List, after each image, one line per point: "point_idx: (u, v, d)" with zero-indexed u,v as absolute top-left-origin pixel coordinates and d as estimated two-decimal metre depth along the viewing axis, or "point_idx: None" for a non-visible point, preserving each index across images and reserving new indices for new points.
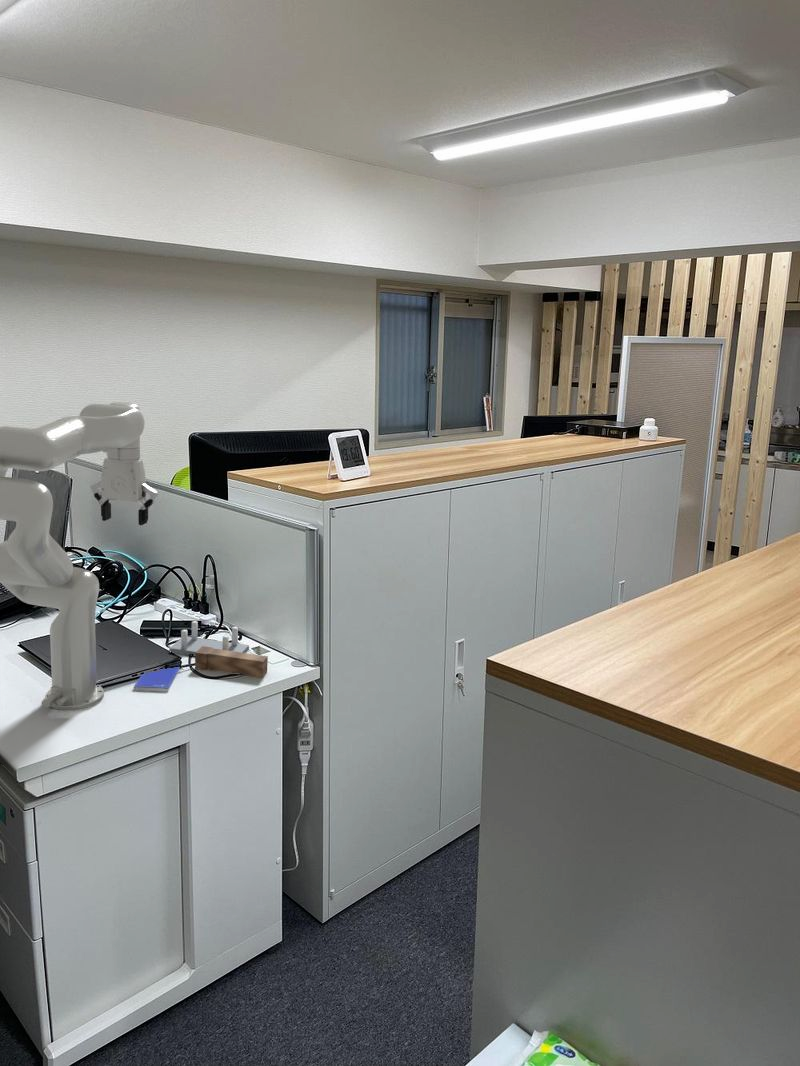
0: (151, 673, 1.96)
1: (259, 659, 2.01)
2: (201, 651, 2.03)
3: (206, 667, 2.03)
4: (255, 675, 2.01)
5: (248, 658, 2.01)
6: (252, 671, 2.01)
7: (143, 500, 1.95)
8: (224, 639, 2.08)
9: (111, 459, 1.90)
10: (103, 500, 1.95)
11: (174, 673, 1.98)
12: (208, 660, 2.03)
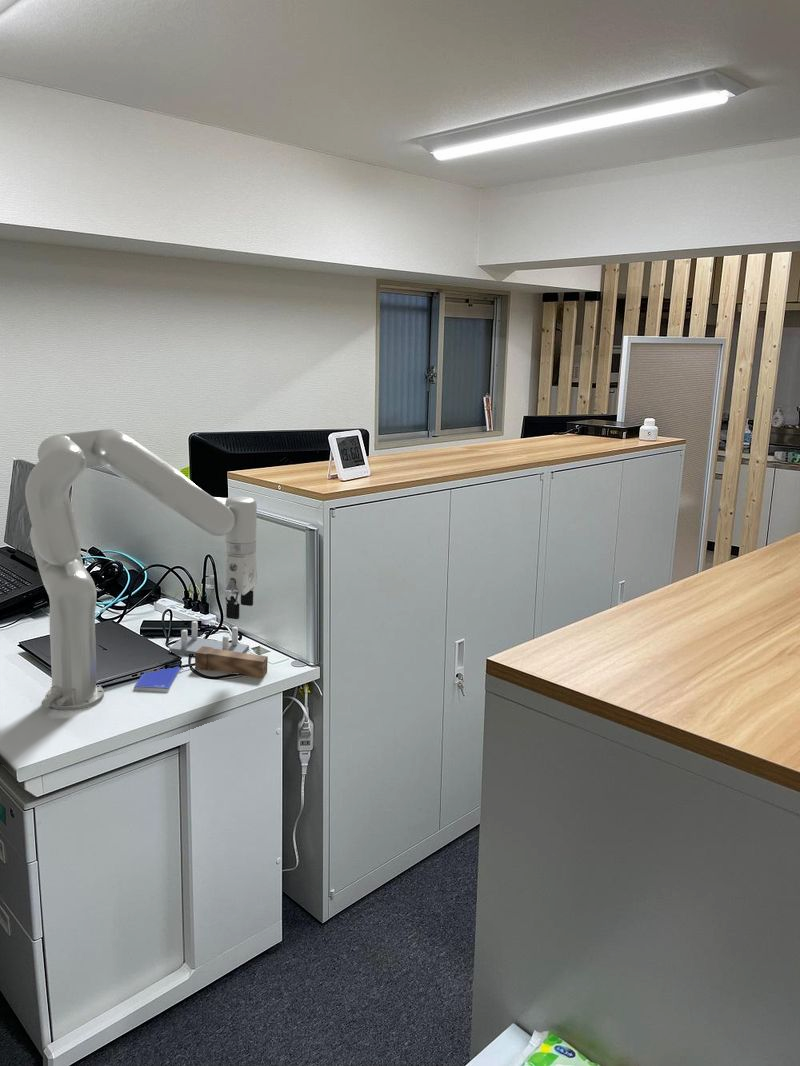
0: (151, 673, 1.96)
1: (259, 659, 2.01)
2: (201, 651, 2.03)
3: (206, 667, 2.03)
4: (255, 675, 2.01)
5: (248, 658, 2.01)
6: (252, 671, 2.01)
7: None
8: (224, 639, 2.08)
9: (252, 553, 1.94)
10: (238, 599, 1.94)
11: (174, 673, 1.98)
12: (208, 660, 2.03)
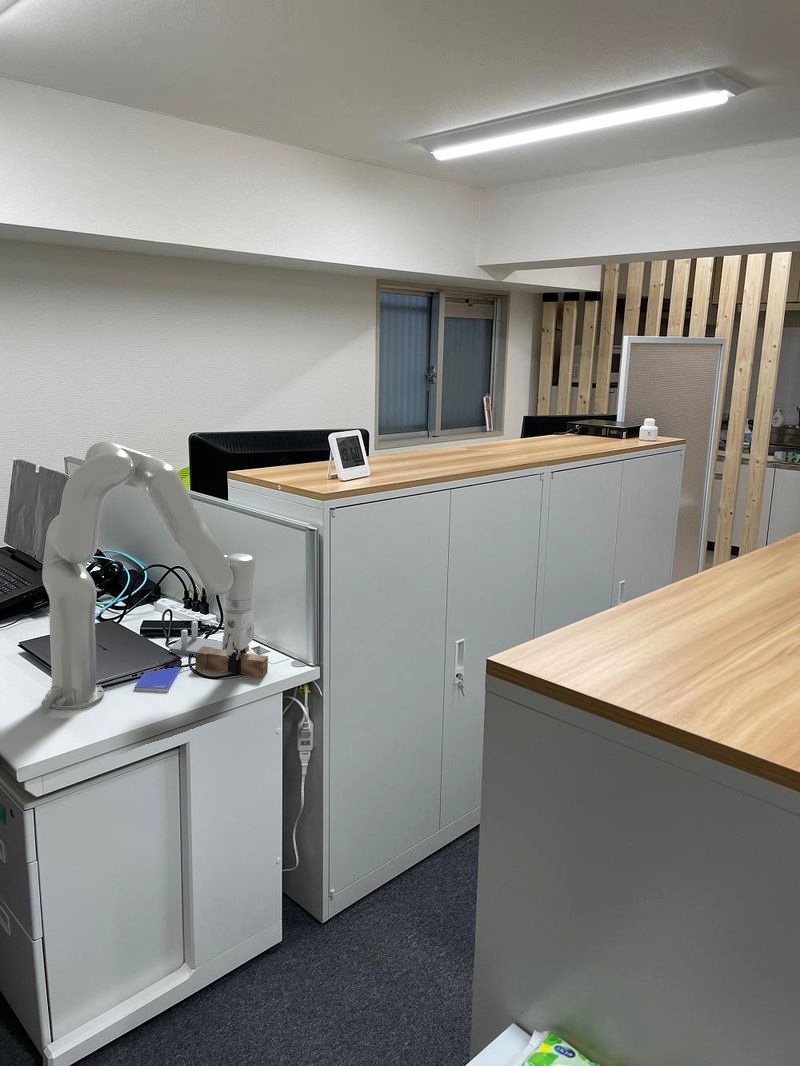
0: (152, 673, 1.96)
1: (259, 659, 2.01)
2: (201, 651, 2.03)
3: (206, 667, 2.03)
4: (255, 675, 2.01)
5: (248, 658, 2.01)
6: (253, 671, 2.01)
7: None
8: None
9: (250, 609, 1.98)
10: (239, 654, 2.00)
11: (175, 673, 1.97)
12: (208, 660, 2.03)
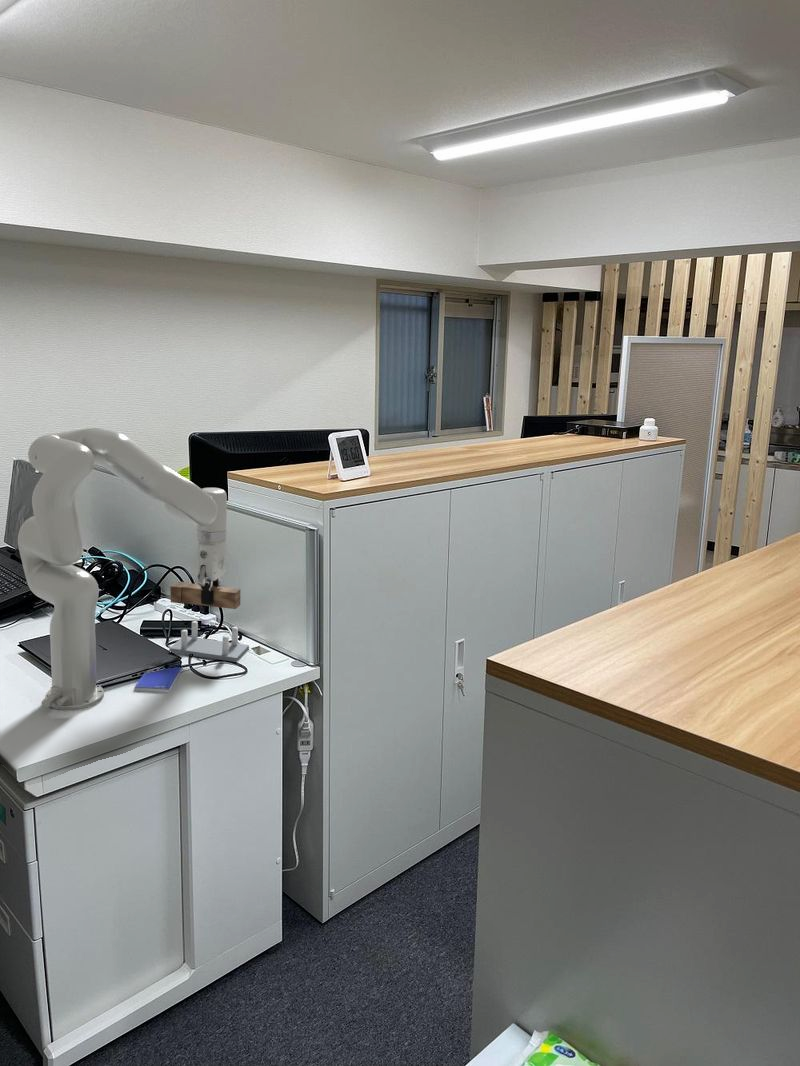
0: (152, 673, 1.96)
1: (232, 591, 2.08)
2: (176, 585, 2.10)
3: (181, 600, 2.10)
4: (228, 606, 2.08)
5: (221, 590, 2.08)
6: (225, 603, 2.08)
7: None
8: (224, 639, 2.08)
9: (222, 541, 2.05)
10: None
11: (175, 674, 1.97)
12: (183, 593, 2.10)
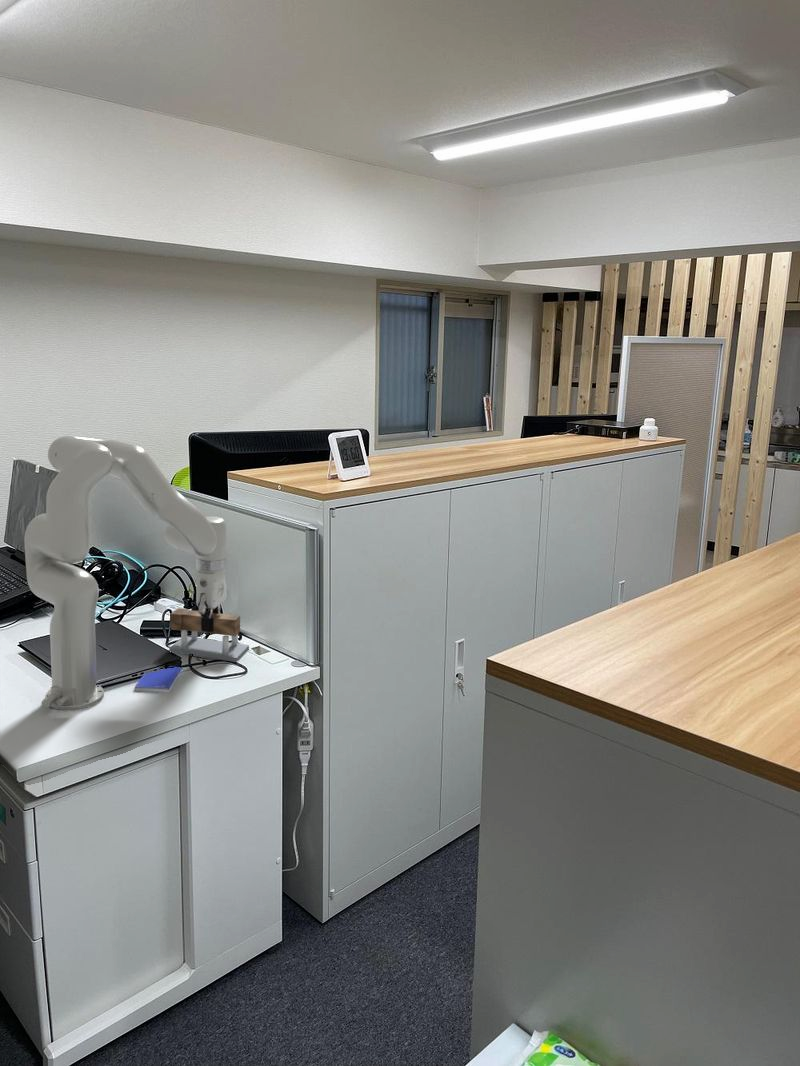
0: (153, 673, 1.96)
1: (231, 618, 2.10)
2: (176, 612, 2.12)
3: (181, 627, 2.12)
4: (228, 634, 2.11)
5: (221, 617, 2.10)
6: (225, 630, 2.10)
7: None
8: (224, 639, 2.08)
9: (221, 570, 2.07)
10: None
11: (175, 674, 1.97)
12: (183, 621, 2.12)
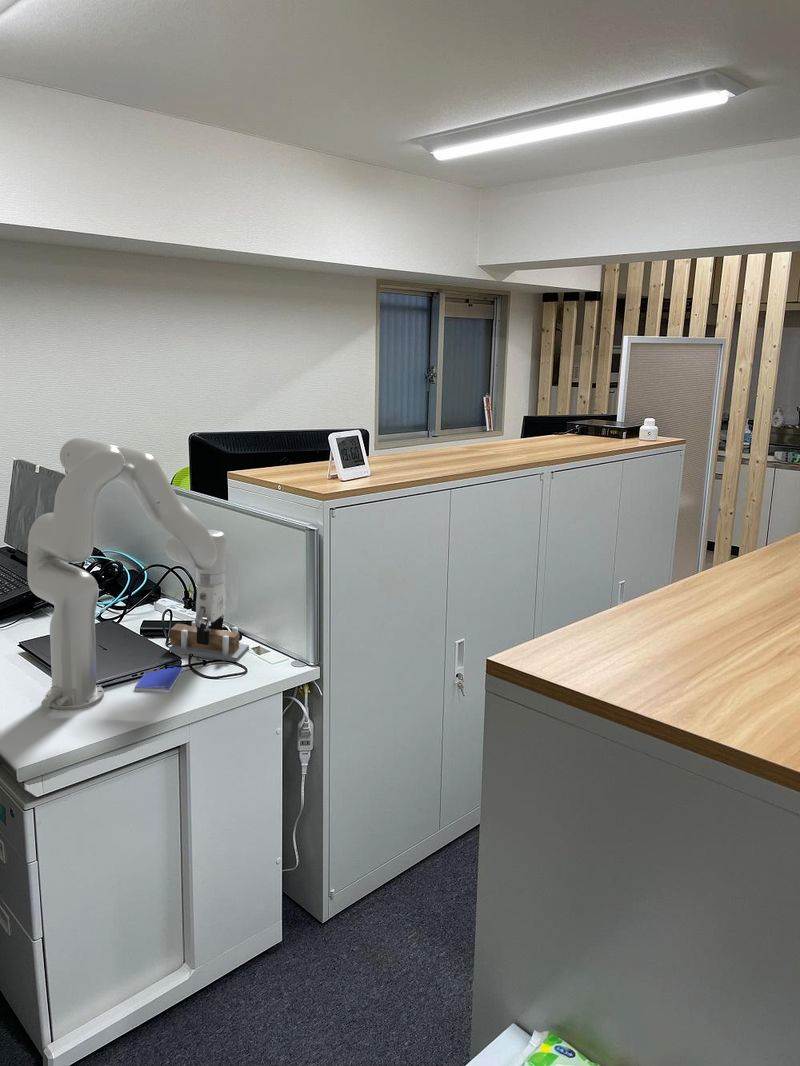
0: (153, 674, 1.96)
1: (231, 635, 2.11)
2: (175, 628, 2.13)
3: (180, 643, 2.13)
4: None
5: (220, 634, 2.11)
6: None
7: None
8: (224, 639, 2.08)
9: (221, 583, 2.08)
10: (208, 626, 2.08)
11: (176, 674, 1.97)
12: None
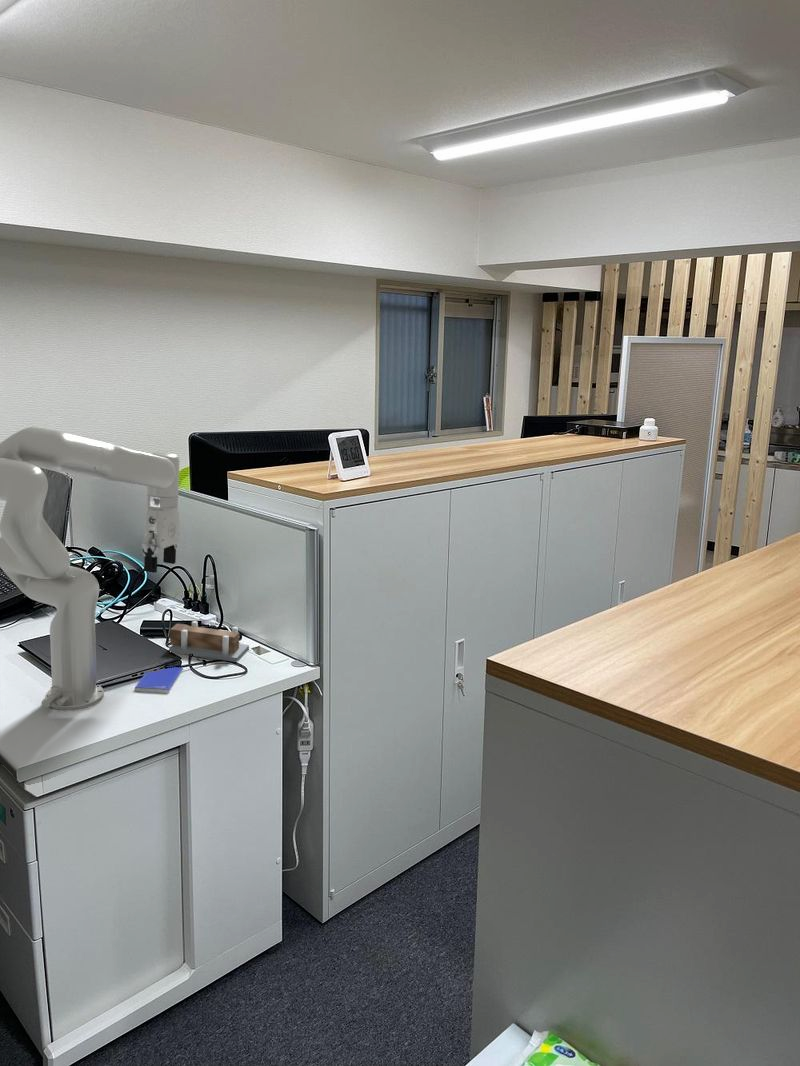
0: (153, 674, 1.96)
1: (231, 635, 2.11)
2: (175, 628, 2.13)
3: (180, 643, 2.13)
4: None
5: (220, 634, 2.11)
6: None
7: None
8: (224, 639, 2.08)
9: (172, 508, 1.97)
10: (156, 552, 1.96)
11: (176, 674, 1.97)
12: None
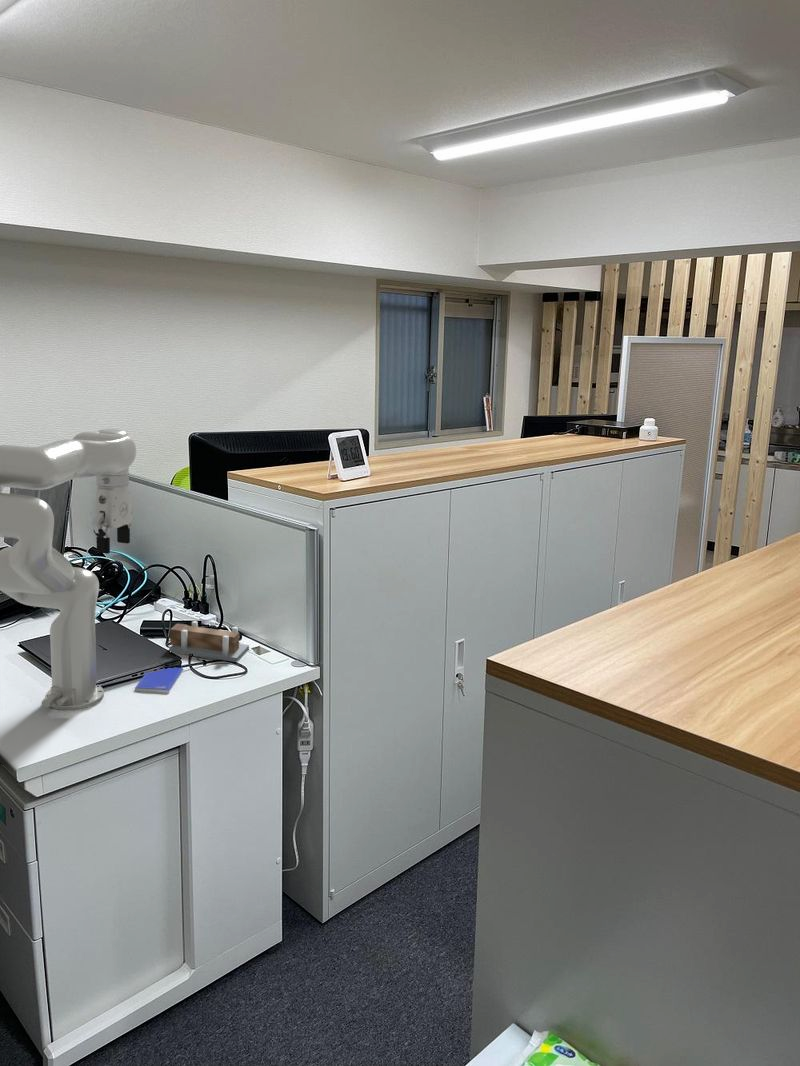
0: (153, 674, 1.96)
1: (231, 635, 2.11)
2: (175, 628, 2.13)
3: (180, 643, 2.13)
4: None
5: (220, 634, 2.11)
6: None
7: None
8: (224, 639, 2.08)
9: (123, 486, 1.91)
10: (108, 532, 1.91)
11: (176, 674, 1.97)
12: None
